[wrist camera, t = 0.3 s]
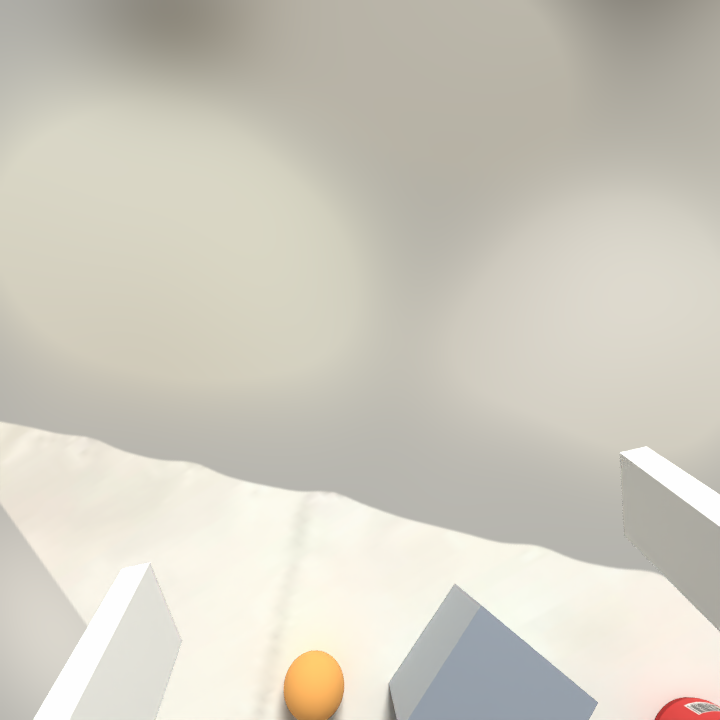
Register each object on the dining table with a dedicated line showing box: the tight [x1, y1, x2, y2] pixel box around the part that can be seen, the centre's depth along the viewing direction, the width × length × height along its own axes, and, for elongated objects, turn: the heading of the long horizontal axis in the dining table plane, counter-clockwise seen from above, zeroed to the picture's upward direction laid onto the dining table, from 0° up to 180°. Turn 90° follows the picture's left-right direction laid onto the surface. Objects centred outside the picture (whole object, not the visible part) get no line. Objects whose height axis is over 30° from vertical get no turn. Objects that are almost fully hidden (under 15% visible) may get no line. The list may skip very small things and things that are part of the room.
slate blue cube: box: [389, 584, 598, 720], centre depth 37 cm, size 10×10×9 cm
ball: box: [284, 651, 344, 720], centre depth 38 cm, size 5×5×5 cm
